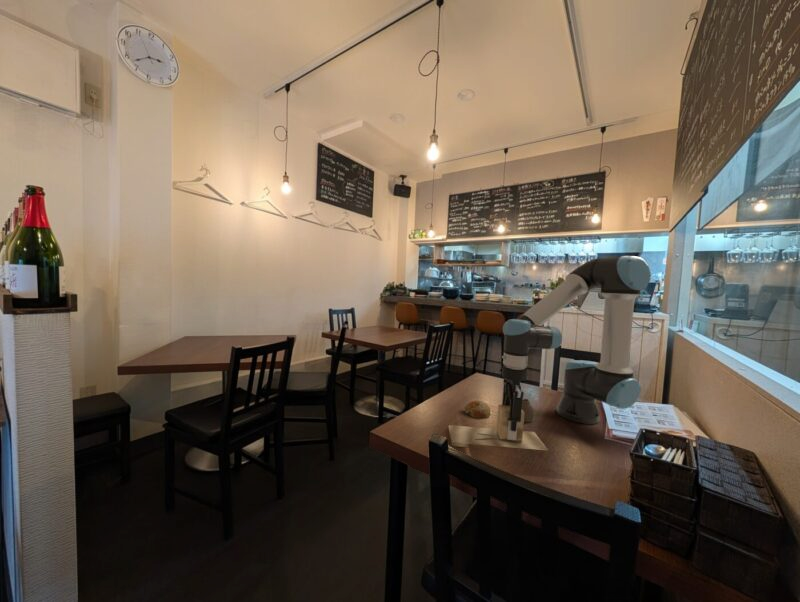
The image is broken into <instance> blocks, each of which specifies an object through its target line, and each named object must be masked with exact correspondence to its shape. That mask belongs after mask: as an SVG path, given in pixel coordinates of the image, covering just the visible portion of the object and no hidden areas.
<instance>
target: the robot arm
mask: <svg viewBox="0 0 800 602" xmlns="http://www.w3.org/2000/svg"><path fill="white" fill-rule="evenodd" d="M651 276H652V274H651V269H650V266H649V265H648V263H647V262H646V260H644V258H642V257H640V256H635V255H622V256H609V257H597V258H596V257H595V258H593V259H591V260H588V261H586V262H584V263H583V264H581V265H580V266H578V267H576V268H575V269H574V270H572V271H571V272H570V273H568V274H567V275H566V276H565V280H564V281H563V282H561V283H560V284H559V285H557V286H556V287H555V288H554V289H553V290H551V291H550V292H549V293H548V294H546V295H545V296H544V297H543V298H541V299H540V300H539V301H538V302H537V303H535V304H534V305H533V306H532V307H530V308H529V309H528V310H526V311H525V312H524V313H523V314H522V315H520V316H519V317H518V318H512V319H508V320H507V321H505V322H504V324H503V326H502V333H503V335H504V341H503V342H504V344H503V345H504V346H503V347H504V348H503V355H501V359H502V360H503V361H502V364H503V365H502V369H501V370H502V371H501V377H502V378H503V381H502V382H503V390H502V401H501V405H509V406H510V418H507V419H508V432H507V439H508V440H516V436H517V424H518V422H521V411H522V399H524V393H525V392H524V391H522V386H521V382H524V381H526V380H527V369H526V368H528V362H529V361H528V360H529V351H530V350H534V349H535V350H553V349H557V348H559V347H560V346H561V345H562V342H563V335H562V332H561V330H560V329H559V328H558V327H555V326H550V325H548V326H544V325H545V324H546V323H547V322H548V321H549V320H551V319H552V318H553V317H554V316H556V315H557V313H559V312H561V310H563V309H564V308H565V307H567V306H568V305H569V304H570V303H571V302H573V300H575V299H576V298H577V297H578V296H580V295H584V294H587V293H588V292H590V291H592V290H594V289H600V294H601V296H603V298H604V308H603V309H604V310H603V321H602V322H603V324H602V334H601V348H600V350H601V351H600V360H599V362H596V361H591V360H581V359H580V360H579V359H577V360H574V359H572V360H568V361H567V362H566V363H565V369H564V381H563V393H562V396H561V398H560V400H559V403H558V404H557V407H556V412H557V414H558V415H559V416H561V417H562V418H564V419H566V420H568V421H571V422H575V423H579V424H584V425H585V424H587V425H593V424H594V425H595V424H598V423H600V413H599V408H598V406H597V405H598V404H597V402H596V400H597V401H600V402H602V403H603V404H606V405H608V406H609V407H613V408H617V409H622V410H625V409H629V408H630V407H633V405H634V404H636V402H637V401H638V399H639V398H640V396H641V391H642V387H641V384H640V382H639V380H637V379H636V378H634V370H633V369H632V368H631V366H630V355H631V346H632V345H631V344H632V343H631V342H632V333H633V332H632V330H633V319H634V307H635V306H634V305H635V300H636V299H637V298H638V297H640V295H641V290H644V289H646V288H647V287H648V284H650V282H651V278H652V277H651Z"/></svg>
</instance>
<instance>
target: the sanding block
mask: <svg viewBox="0 0 800 602" xmlns="http://www.w3.org/2000/svg"><path fill="white" fill-rule="evenodd" d="M497 407H498V408H497V417H496V418H497V421H496V429H497V431H496V433H497V435H498V437H499V439H500V441H512V442H522V437H523V431H524V423H525V422H524V413H525V412H524V411H523V410H522V411H521V422H518V424H517V436H516V440H508V439H507V432H508V419H507V418H510V406H509V405H502V404H498V406H497Z"/></svg>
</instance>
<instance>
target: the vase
mask: <svg viewBox="0 0 800 602" xmlns="http://www.w3.org/2000/svg"><path fill="white" fill-rule="evenodd" d="M522 410H523V411H524V412H525V413H524V423H528V424H529V423H533V422H534V419H535V409H534V407H533V406H532V404H531V402H530V399H527V398H523V399H522Z"/></svg>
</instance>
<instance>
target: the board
mask: <svg viewBox="0 0 800 602" xmlns="http://www.w3.org/2000/svg"><path fill="white" fill-rule="evenodd" d="M496 431H497V428H486V427H476V426H464V425H463V426H462V425H453V424H452V425H450V424H449V425H448V432H449V438H450V441H451V442H450V443H451V446H452V447H461V448H470V446H469V445H475V446H476V445H477V446H479V445H480V446H491V447H500V448H501V447H503V448H510V449H511V448H513V449H527V450H538V451H549V449H548V448H547V447H546V445H545V444H544V442H543V441H542V440H541V439H540V438H539V436H538V434H537V433H536V432H535V431H529V430H527V431H526V430H525V431H524V430H523V437H522V442H512V441H500V439H499V437H498V435H497V433H496Z"/></svg>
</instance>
